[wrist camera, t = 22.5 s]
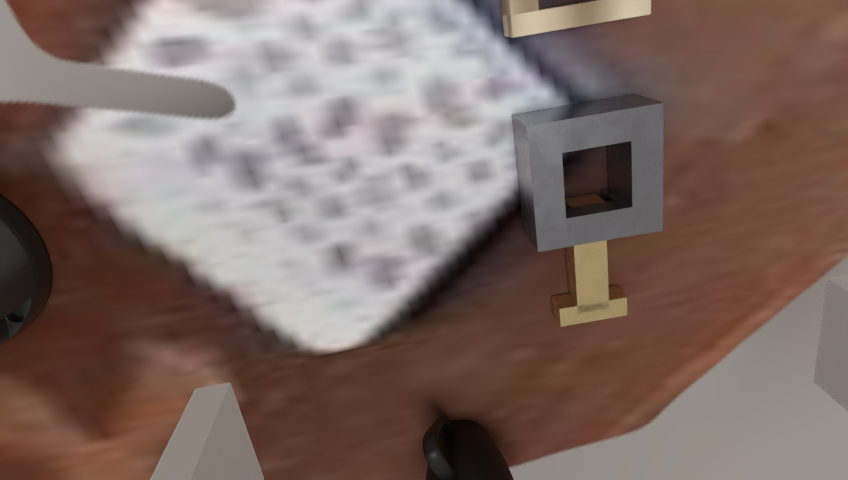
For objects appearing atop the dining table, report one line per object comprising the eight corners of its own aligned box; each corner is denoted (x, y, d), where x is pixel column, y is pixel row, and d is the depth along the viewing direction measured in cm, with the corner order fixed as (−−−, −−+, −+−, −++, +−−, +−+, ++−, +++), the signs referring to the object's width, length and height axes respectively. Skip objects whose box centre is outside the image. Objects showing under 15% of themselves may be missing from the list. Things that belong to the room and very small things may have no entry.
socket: (523, 229, 49) (537, 252, 44) (511, 114, 45) (526, 126, 40) (636, 209, 49) (662, 230, 44) (634, 93, 45) (663, 102, 40)
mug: (463, 367, 54) (479, 436, 45) (513, 452, 58) (537, 530, 49) (387, 402, 55) (389, 477, 46) (442, 484, 59) (453, 566, 50)
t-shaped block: (553, 313, 52) (560, 326, 50) (544, 201, 48) (552, 210, 46) (616, 302, 52) (627, 315, 50) (613, 189, 48) (624, 198, 46)
